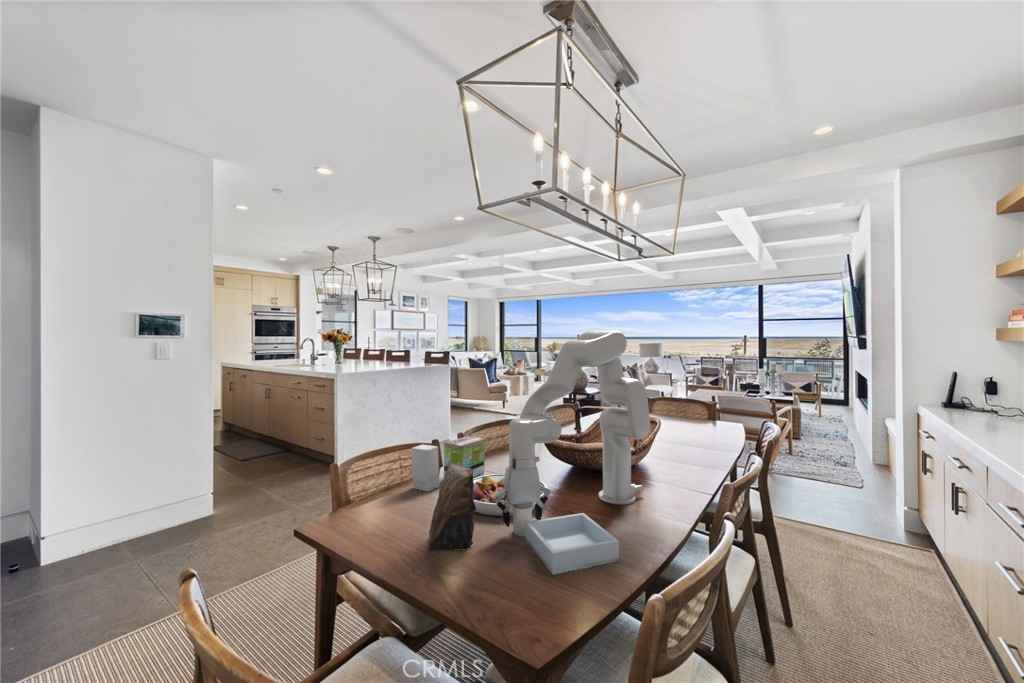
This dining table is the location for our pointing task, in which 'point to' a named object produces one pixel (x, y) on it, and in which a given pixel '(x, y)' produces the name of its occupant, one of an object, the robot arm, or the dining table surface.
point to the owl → (453, 511)
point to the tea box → (465, 454)
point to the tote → (571, 543)
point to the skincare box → (425, 467)
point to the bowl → (491, 494)
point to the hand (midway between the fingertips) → (522, 522)
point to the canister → (521, 517)
